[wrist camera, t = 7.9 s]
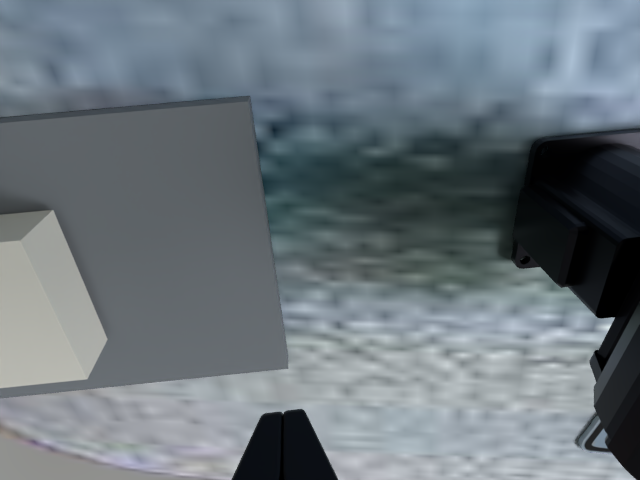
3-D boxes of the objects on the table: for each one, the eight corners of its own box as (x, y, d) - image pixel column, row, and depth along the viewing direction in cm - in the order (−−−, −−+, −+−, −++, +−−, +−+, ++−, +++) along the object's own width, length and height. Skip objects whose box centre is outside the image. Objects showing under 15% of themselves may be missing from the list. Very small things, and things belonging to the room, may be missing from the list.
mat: (249, 96, 17) (248, 101, 16) (288, 354, 24) (288, 368, 23) (-178, 133, 17) (-204, 140, 16) (-13, 385, 24) (-25, 400, 23)
